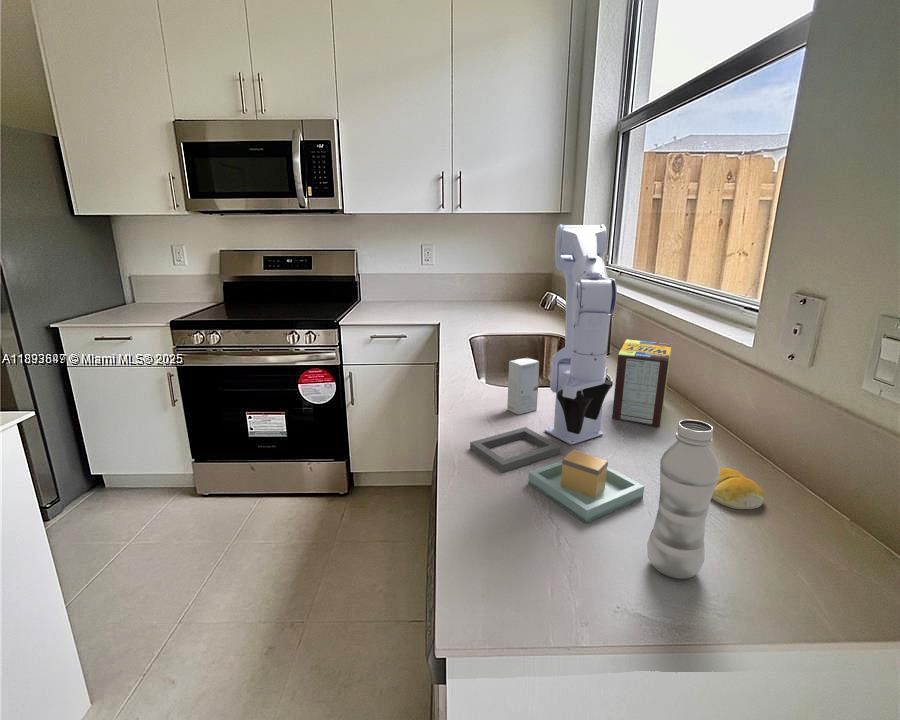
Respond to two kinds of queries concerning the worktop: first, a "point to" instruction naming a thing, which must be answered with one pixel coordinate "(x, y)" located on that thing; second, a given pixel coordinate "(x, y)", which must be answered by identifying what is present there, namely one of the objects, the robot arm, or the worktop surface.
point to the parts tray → (580, 505)
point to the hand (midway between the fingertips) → (582, 425)
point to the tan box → (584, 473)
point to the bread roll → (737, 490)
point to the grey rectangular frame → (520, 460)
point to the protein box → (641, 382)
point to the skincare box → (523, 385)
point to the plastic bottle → (684, 501)
